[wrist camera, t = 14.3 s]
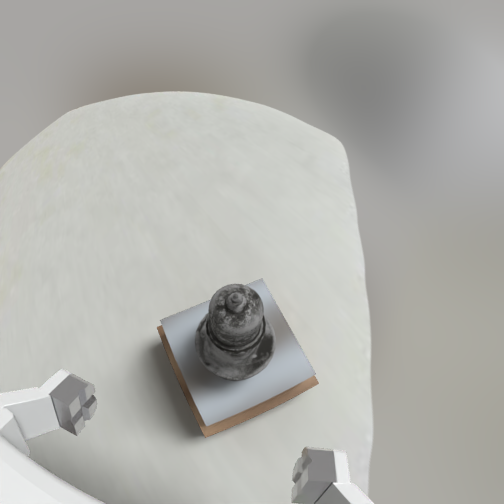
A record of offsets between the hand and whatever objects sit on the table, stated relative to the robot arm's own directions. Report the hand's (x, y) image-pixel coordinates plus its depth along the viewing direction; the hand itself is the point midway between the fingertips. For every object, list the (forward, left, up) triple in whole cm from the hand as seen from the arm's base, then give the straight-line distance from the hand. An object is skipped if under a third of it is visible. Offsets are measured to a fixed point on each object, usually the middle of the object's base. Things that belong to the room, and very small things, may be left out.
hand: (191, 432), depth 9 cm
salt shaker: (-5, +4, -14) cm, 15 cm away
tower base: (-5, +4, -22) cm, 23 cm away
